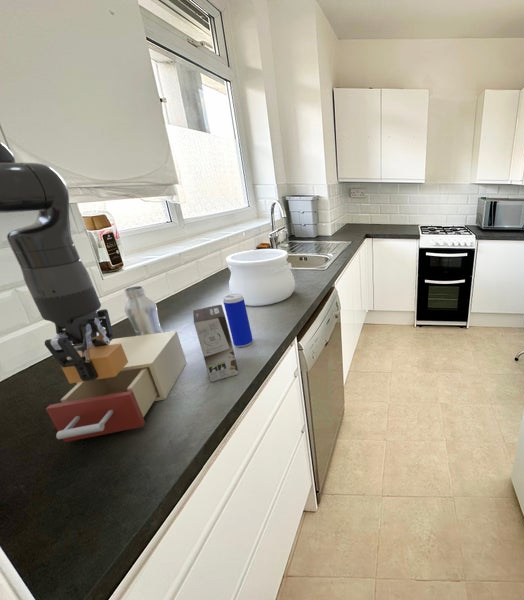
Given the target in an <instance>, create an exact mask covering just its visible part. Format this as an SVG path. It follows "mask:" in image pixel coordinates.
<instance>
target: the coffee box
mask: <svg viewBox="0 0 524 600" xmlns="http://www.w3.org/2000/svg"><path fill="white" fill-rule="evenodd" d="M192 314H193V324H194V327H195V332H196V335H197V338H198V341H199V345H200V348H201V349H200V350H201V352H202V356H203V360H204V363H205V366H206V370H207V373H208V376H209V381H210V382H211V383H212V382H216V381H219V380H222V379H226V378H230V377H234V376H237V375H238V374H239V370H238V364H237V360H236V356H235V349H234V346H233V340H232V336H231V332H230V328H229V324H228V320H227V317H226V315H225V314H226V313H225V311H224V308H223V305H222V304H217V305H211V306H207V307H203V308H198V309H194V310H192Z"/></svg>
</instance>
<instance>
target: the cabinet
mask: <svg viewBox="0 0 524 600" xmlns="http://www.w3.org/2000/svg"><path fill="white" fill-rule="evenodd" d="M120 343H121V345H122V347H123V350H124V353H125V355H126V358H127V360H128V363H127V364H126V365H125V366H124V367H123V369H122V370H121V371H125V370H132V369H138V368H145V367H149V368H150V371H151V374H152V377H153V379H154V382H155V385H156V387H157V390H158V393H159V394H158V395H157V397H156V398H155V400H154V402H159V401H165V400H166V399H167V397H168V396H169V394H170V393H171V390H172V389H173V387H174V385H175V383H176V382H177V380H178V379H179V377H180V375H181V374H182V371H183V369H184V368H185V367H186V364H187V360H186V356H185V353H184V349H183V346H182V343H181V340H180V337H179V333H178V331H177V330H171V331H165V332H164V331H163V333H155V334H148V335H140V336H136V335H134V336H133V335H132V336H126V337H125V336H124V337H118V338H117V337H116V338H111V340H110V344H109V345H113V344H120ZM78 383H79V382H78ZM78 383H76V385H77V384H78Z"/></svg>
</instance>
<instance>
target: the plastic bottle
mask: <svg viewBox="0 0 524 600" xmlns="http://www.w3.org/2000/svg"><path fill="white" fill-rule="evenodd" d="M146 293H147V292H146V290H145V289H144V286H142V285H136V286H131V287H127V288H125V289H124V294H125V297H126V298H128V299H127V301H126V303H125V305H124V313H125V315H126V317H127V318H128V320H129V322H130V323H131V326H132V328H133V329H134V332H135V336H140V335H148V334H155V333H163V332H164V331H163V329H162V326H161V324H160V323H161V322H160V318H159V311H158V305H157V303H156V302H155V300H153V299H152V298H151V297H149V296H147V295H146Z"/></svg>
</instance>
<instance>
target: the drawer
mask: <svg viewBox="0 0 524 600" xmlns="http://www.w3.org/2000/svg"><path fill="white" fill-rule="evenodd" d="M158 394H159V393H158V390H157V387H156V385H155V382H154V379H153V377H152V374H151V371H150V368H149V367H145V368H138V369H132V370H125V371H120V372H119V373H118V374H117V375H116V376H115V377H109V378H103V379H97V380H90V381H84V382H79V383H78V384H77V383H76V385H74V386H73V387H72V388H71V389H70V390H69V391H68V392H67V393H66V394H64V396H62V398H61V399H60V402H59V403H58V402H57V403H52V404H49V405H48V406H47V407H46V408H45V410H46V413H47V414H48V416H49V418H50V419H51V421H52V424H53V425H54V427H55V429H56V431H57V432H56V434H55V435H56V439H57V440H62V441H63V443H68V442H72V441H78V440H82V439H87V438H93V437H98V436H103V435H108V434H113V433H118V432H122V431H128V430H134V429H138V428H139V429H140V428H142V427H144V426H145V424H146V421H145V417H146V414H147V413H148V412H149V410H150V408H151V406H152V405H153V403H155V401H154V400H155V398H156V397H157V395H158Z"/></svg>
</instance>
